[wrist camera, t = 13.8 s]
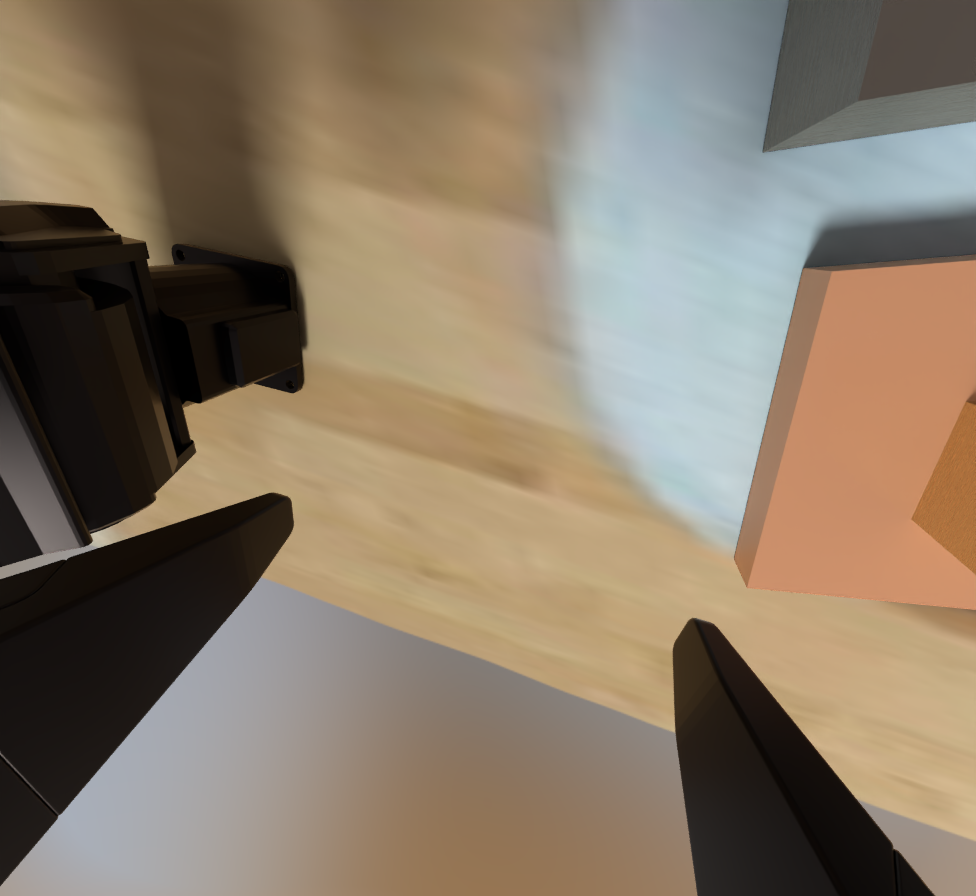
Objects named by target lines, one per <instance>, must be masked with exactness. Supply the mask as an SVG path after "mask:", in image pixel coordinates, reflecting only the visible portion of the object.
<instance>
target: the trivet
mask: <svg viewBox="0 0 976 896" xmlns="http://www.w3.org/2000/svg"><path fill="white" fill-rule="evenodd" d="M966 401H976V254H973V255H961V256H948V257H936V258H923V259H911V260H899V261H886V262H874V263H862V264H849V265H837V266H825V267H812V268H803V271H802V275H801V279H800V283H799V288H798V292H797V296H796V300H795V305H794V309H793V313H792V317H791V321H790V326H789V330H788V334H787V338H786V342H785V347H784V351H783V355H782V359H781V363H780V368H779V372H778V376H777V380H776V384H775V389H774V393H773V397H772V401H771V406H770V410H769V414H768V418H767V422H766V427H765V431H764V435H763V439H762V443H761V448H760V452H759V456H758V460H757V464H756V469H755V473H754V477H753V481H752V485H751V490H750V494H749V498H748V502H747V507H746V511H745V515H744V519H743V523H742V528H741V532H740V536H739V540H738V544H737V549H736V553H735V557H734V560H735V562H736V565H737V567H738V569H739V571H740V573H741V576H742V578H743V580H744V582H745V585H746V587H747V588H754V589H764V590H775V591H785V592H796V593H806V594H817V595H827V596H837V597H848V598H858V599H869V600H879V601H890V602H900V603H911V604H921V605H932V606H942V607H953V608H963V609H974V610H976V575H975V574H974V573H973V572H972V571H971V570H969V569H968V568H967V567H966V566H965V565H964V564H962V563H961V562H960V561H959V560H958V559H957V558H955V557H954V556H953V555H952V554H951V553H950V552H948V551H947V550H946V549H945V548H944V547H943V546H942V545H940V544H939V543H938V542H937V541H936V540H935V539H933V538H932V537H931V536H930V535H929V534H928V533H926V532H925V531H924V530H923V529H922V528H921V527H919V526H918V525H917V524H916V523H915V522H914V521H912V520H911V518H912V516H913V514H914V512H915V510H916V507H917V505H918V503H919V501H920V499H921V497H922V495H923V492H924V490H925V488H926V486H927V484H928V482H929V480H930V477H931V475H932V473H933V471H934V469H935V467H936V464H937V462H938V460H939V458H940V456H941V454H942V452H943V449H944V447H945V445H946V443H947V441H948V439H949V436H950V434H951V432H952V430H953V428H954V426H955V424H956V421H957V419H958V417H959V415H960V413H961V411H962V409H963V406H964V404H965V402H966Z"/></svg>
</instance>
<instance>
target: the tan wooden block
mask: <svg viewBox="0 0 976 896" xmlns="http://www.w3.org/2000/svg"><path fill="white" fill-rule="evenodd" d="M911 520H912V521H914V522H915V523H916V524H917V525H918V526H919V527H921V528H922V529H923V530H924V531H925V532H926V533H928V534H929V535H930V536H931V537H932V538H933V539H935V540H936V541H937V542H938V543H939V544H940V545H942V546H943V547H944V548H945V549H946V550H947V551H948V552H950V553H951V554H952V555H953V556H954V557H955V558H957V559H958V560H959V561H960V562H961V563H962V564H964V565H965V566H966V567H967V568H968V569H969V570H971V571H972V572H973V573H974V574H975V575H976V401H966V402H965V404H964V406H963V409H962V411H961V413H960V415H959V417H958V419H957V421H956V424H955V426H954V428H953V430H952V432H951V434H950V436H949V439H948V441H947V443H946V445H945V447H944V449H943V452H942V454H941V456H940V458H939V460H938V462H937V464H936V467H935V469H934V471H933V473H932V475H931V477H930V480H929V482H928V484H927V486H926V488H925V490H924V492H923V495H922V497H921V499H920V501H919V503H918V505H917V507H916V510H915V512H914V514H913V516H912V518H911Z"/></svg>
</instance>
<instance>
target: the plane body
mask: <svg viewBox="0 0 976 896" xmlns="http://www.w3.org/2000/svg"><path fill="white" fill-rule="evenodd" d="M974 121H976V0H789V5H788V11H787V17H786V22H785V28H784V34H783V39H782V45H781V51H780V57H779V62H778V68H777V74H776V79H775V85H774V91H773V97H772V102H771V108H770V114H769V119H768V125H767V131H766V137H765V142H764V148H763V152H770V151H777V150H783V149H790V148H797V147H804V146H811V145H817V144H824V143H831V142H838V141H845V140H851V139H858V138H865V137H872V136H879V135H885V134H892V133H899V132H906V131H913V130H919V129H926V128H933V127H940V126H947V125H953V124H960V123H967V122H974Z"/></svg>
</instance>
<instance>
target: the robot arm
mask: <svg viewBox="0 0 976 896" xmlns="http://www.w3.org/2000/svg"><path fill="white" fill-rule="evenodd" d="M183 253H184V255H185V257H184V255H183ZM172 256H173V261H174V265H162V266H148V264H147V259H149V254H148V250H147V246H146V242H145V241H140V240H136V239H131V238H127V237H122V236H121V235H120V234H118V233H115V232H114V230H113V228H110V227H109V226H108V225H107V224H106V223H105V222H104V221H103V219H102V218H101V217H100V216H99V215H98V214H97V213H96V211H95V210H94V209H93V208H90V207H85V206H80V205H71V204H58V203H45V202H31V201H9V200H0V567H2V566H6V565H9V564H12V563H16V562H19V561H23V560H26V559H29V558H33V557H36V556H40V555H43V554H48V553H54V552H59V551H65V550H70V549H76V548H81V547H85V546H87V545H89V544H91V543H92V541H93V539H92V537H91V535H90V534H91V533H94V532H98V531H101V530H103V529H106V528H108V527H110V526H113V525H115V524H117V523H119V522H121V521H123V520H124V519H126V518H128V517H131V516H133V515H134V514H136V513H138V512H140V511H141V510H143V509H145V508H146V507H148V506H150V505H151V504H152V503H153V502H154V501H155V500H156V495H155V493H156V492H157V491H158V490H159V489H160V488H161V487H162V486H163V485H164V484H165V483H166V482H167V481H168V480H169V479H170V478H171V477H172V476H173V475H174V474H175V473H176V472H177V471H178V470H179V469H180V468H181V467H182V466H183V465H184V464H185V463H186V462H187V461H188V460H189V459H190V458H191V457H192V456H193V455H194V454H195V453H196V449H195V444H194V441H193V440H191V439H190V435H189V431H188V427H187V423H186V418H185V414H184V410H183V408H184V407H187V406H189V405H192V404H194V403H203V402H205V401H208V400H210V399H212V398H215V397H217V396H220V395H222V394H225V393H227V392H230V391H232V390H235V389H237V388H240V387H241V388H242V387H246V386H248V385H251V384H253V383H254V384H258V385H261V386H265V387H269V388H273V389H277V390H281V391H285V392H289V393H295V392H297V391H299V390H301V389H302V386H303V382H302V369H301V351H300V338H299V325H298V316H297V304H296V291H295V278H294V274H293V272H292V270H291V269H290V268H289V267H287V266H285V265H281V264H277V263H272V262H267V261H263V260H258V259H253V258H249V257H244V256H239V255H234V254H230V253H225V252H220V251H216V250H211V249H206V248H202V247H197V246H192V245H188V244H175V245H173V247H172ZM281 272H282V274H283V275H284V281H283V280H282V278H281ZM290 381H292V382H293V384H294V386H293V385H292V384H291V382H290ZM293 526H294V520H293V510H292V502H291V499H290V498H289V497H288V496H285V495H281V494H278V493H268V494H265V495H262V496H259V497H256V498H252V499H249V500H246V501H243V502H240V503H237V504H234V505H231V506H228V507H225V508H221V509H218V510H215V511H212V512H209V513H206V514H203V515H200V516H197V517H194V518H190V519H187V520H184V521H181V522H178V523H175V524H172V525H169V526H166V527H163V528H159V529H156V530H153V531H150V532H147V533H144V534H141V535H138V536H135V537H132V538H128V539H125V540H122V541H119V542H116V543H113V544H110V545H107V546H104V547H101V548H97V549H94V550H91V551H88V552H85V553H82V554H79V555H76V556H73V557H70V558H68V559H67V560H60V561H57V562H54V563H51V564H48V565H45V566H42V567H38V568H36V569H32V570H29V571H26V572H23V573H19V574H16V575H13V576H10V577H6V578H3V579H0V886H1V885H2V884H3V882H4V881H5V880H6V879H7V878H8V877H9V875H10V874H11V873H12V872H13V871H14V869H15V868H16V867H17V866H18V865H19V864H20V862H21V861H22V860H23V859H24V858H25V856H26V855H27V854H28V853H29V852H30V851H31V850H32V848H33V847H34V846H35V845H36V844H37V842H38V841H39V840H40V839H41V838H42V837H43V835H44V834H45V833H46V832H47V831H48V830H49V828H50V827H51V826H52V825H53V824H54V822H55V821H56V820H57V819H58V815H60V814H62V813H63V811H64V810H65V809H66V808H67V807H68V805H69V804H70V803H71V802H72V801H73V800H74V798H75V797H76V796H77V795H78V794H79V792H80V791H81V790H82V789H83V788H84V787H85V786H86V784H87V783H88V782H89V781H90V779H91V778H92V777H93V776H94V775H95V774H96V772H97V771H98V770H99V769H100V768H101V767H102V765H103V764H104V763H105V762H106V761H107V760H108V758H109V757H110V756H111V755H112V754H113V753H114V751H115V750H116V749H117V748H118V746H120V744H121V743H122V742H123V741H124V740H125V738H126V737H127V736H128V735H129V734H130V732H131V731H132V730H133V729H134V728H135V727H136V725H137V724H138V723H139V722H140V721H141V720H142V718H143V717H144V716H145V715H146V714H147V713H148V711H149V710H150V709H151V708H152V706H153V705H154V704H155V703H156V702H157V701H158V700H159V698H160V697H161V696H162V695H163V694H164V693H165V691H166V690H167V689H168V688H169V687H170V685H171V684H172V683H173V682H174V681H175V680H176V678H177V677H178V676H179V675H180V674H181V673H182V671H183V670H184V669H185V668H186V667H187V665H188V664H189V663H190V662H191V661H192V659H193V658H194V657H195V656H196V655H197V654H198V653H199V651H200V650H201V649H202V648H203V647H204V645H205V644H206V643H207V642H208V641H209V640H210V638H211V637H212V636H213V635H214V634H215V633H216V631H217V630H218V629H219V628H220V627H221V625H222V624H223V623H224V622H225V621H226V619H227V618H228V617H229V616H230V615H231V614H232V612H233V611H234V610H235V609H236V608H237V607H238V606H239V604H240V603H241V602H242V601H243V599H244V598H245V597H246V596H247V595H248V593H249V592H250V591H251V590H252V588H253V587H254V586H255V584H256V583H257V582H258V580H259V579H260V577H261V576H262V575H263V573H264V572H265V570H266V569H267V567H268V566H269V565H270V563H271V562H272V560H273V559H274V557H275V556H276V554H277V553H278V552H279V550H280V549H281V547H282V546H283V544H284V543H285V542H286V540H287V539H288V537H289V536H290V534H291V532H292V530H293ZM673 679H674V710H675V732H676V741H677V749H678V757H679V764H680V771H681V779H682V786H683V793H684V800H685V808H686V815H687V822H688V829H689V837H690V844H691V852H692V859H693V866H694V873H695V880H696V888H697V895H698V896H935V895H934V894H933V893H932V891H931V890H930V889H929V888H928V887H927V886H926V884H925V883H924V882H923V880H922V879H921V878H920V877H919V875H918V874H917V873H916V872H915V871H914V869H913V868H912V867H911V866H910V864H909V863H908V862H907V861H906V859H905V858H904V857H903V856H902V854H901V853H900V852H899V851H897V850H895V849H893V844H892V842H891V841H890V840H889V839H888V837H887V836H886V835H885V834H884V833H883V831H882V830H881V829H880V828H879V826H878V825H877V824H876V823H875V821H874V820H873V819H872V818H871V816H870V815H869V814H868V813H867V812H866V810H865V809H864V808H863V807H862V805H861V804H860V803H859V802H858V800H857V799H856V798H855V797H854V795H853V794H852V793H851V792H850V791H849V789H848V788H847V787H846V786H845V784H844V783H843V782H842V781H841V779H840V778H839V777H838V776H837V775H836V773H835V772H834V771H833V770H832V768H831V767H830V766H829V765H828V763H827V762H826V761H825V760H824V758H823V757H822V756H821V755H820V754H819V752H818V751H817V750H816V749H815V747H814V746H813V745H812V744H811V742H810V741H809V740H808V739H807V737H806V736H805V735H804V734H803V733H802V731H801V730H800V729H799V728H798V726H797V725H796V724H795V723H794V721H793V720H792V719H791V718H790V716H789V715H788V714H787V713H786V712H785V710H784V709H783V708H782V707H781V705H780V704H779V703H778V702H777V700H776V699H775V698H774V697H773V696H772V694H771V693H770V692H769V691H768V689H767V688H766V687H765V686H764V684H763V683H762V682H761V681H760V679H759V678H758V677H757V676H756V675H755V673H754V672H753V671H752V670H751V668H750V667H749V666H748V665H747V663H746V662H745V661H744V660H743V658H742V657H741V656H740V655H739V654H738V652H737V651H736V650H735V649H734V647H733V646H732V645H731V644H730V642H729V641H728V640H727V639H726V638H725V636H724V635H723V634H722V633H721V631H720V630H719V629H718V628H717V627H716V626H715V625H714V624H713V623H710V622H707V621H704V620H700V619H697V618H691V619H690V620H689V621H688V622H687V624H686V625H685V627H684V628H683V630H682V631H681V633H680V635H679V636H678V638H677V639H676V641H675V643H674V647H673Z"/></svg>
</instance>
